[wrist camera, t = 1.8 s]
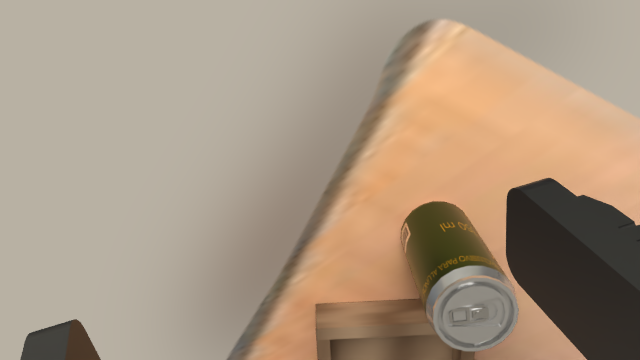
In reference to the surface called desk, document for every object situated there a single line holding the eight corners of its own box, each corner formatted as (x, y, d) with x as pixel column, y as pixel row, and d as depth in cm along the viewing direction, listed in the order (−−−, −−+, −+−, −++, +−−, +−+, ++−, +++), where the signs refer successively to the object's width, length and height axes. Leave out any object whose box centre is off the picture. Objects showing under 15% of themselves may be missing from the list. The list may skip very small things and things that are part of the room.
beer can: (402, 265, 45) (432, 360, 34) (395, 202, 43) (424, 280, 32) (470, 256, 45) (523, 348, 33) (466, 193, 43) (521, 267, 32)
